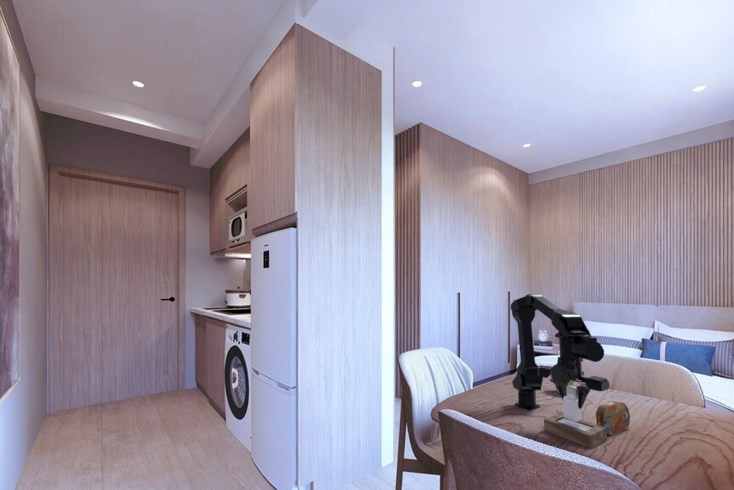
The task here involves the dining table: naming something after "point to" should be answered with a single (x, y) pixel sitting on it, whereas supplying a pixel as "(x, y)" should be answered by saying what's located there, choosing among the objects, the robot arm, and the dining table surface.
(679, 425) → the dining table surface
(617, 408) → the tin
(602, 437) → the guide block
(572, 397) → the pepper shaker
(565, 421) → the white flat block
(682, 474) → the dining table surface
